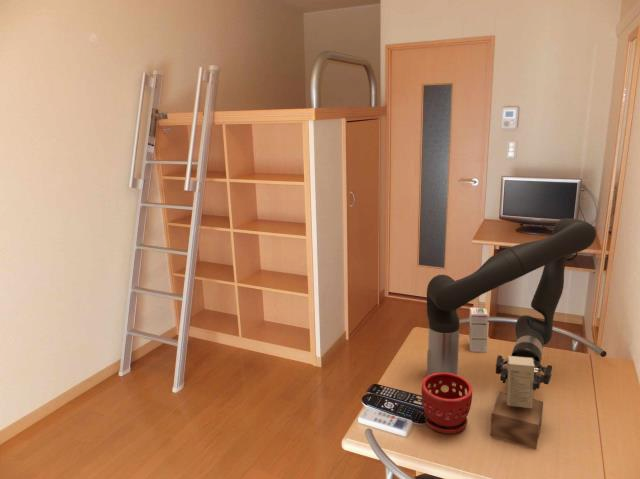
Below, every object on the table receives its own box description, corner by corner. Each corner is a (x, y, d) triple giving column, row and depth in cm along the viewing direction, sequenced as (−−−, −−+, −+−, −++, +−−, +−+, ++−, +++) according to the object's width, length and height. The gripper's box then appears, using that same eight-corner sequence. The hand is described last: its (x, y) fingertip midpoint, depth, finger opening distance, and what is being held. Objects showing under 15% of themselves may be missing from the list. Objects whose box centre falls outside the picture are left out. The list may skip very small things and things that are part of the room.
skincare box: (531, 399, 127) (534, 357, 123) (532, 409, 123) (536, 366, 119) (505, 395, 129) (507, 354, 125) (505, 405, 125) (508, 363, 121)
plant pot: (410, 422, 132) (411, 383, 129) (441, 403, 140) (443, 366, 137) (449, 446, 122) (451, 405, 119) (480, 425, 130) (482, 385, 127)
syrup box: (487, 352, 167) (489, 314, 164) (469, 351, 169) (471, 313, 165) (485, 345, 173) (487, 307, 169) (467, 344, 174) (469, 306, 170)
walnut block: (490, 436, 126) (491, 412, 124) (498, 413, 135) (499, 391, 133) (536, 449, 120) (538, 424, 119) (541, 424, 130) (543, 401, 128)
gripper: (501, 336, 138) (490, 364, 124) (556, 346, 131) (551, 376, 117) (499, 360, 140) (488, 389, 126) (554, 371, 133) (549, 403, 119)
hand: (519, 383), depth 122 cm, fingers closed on skincare box, 6 cm apart
